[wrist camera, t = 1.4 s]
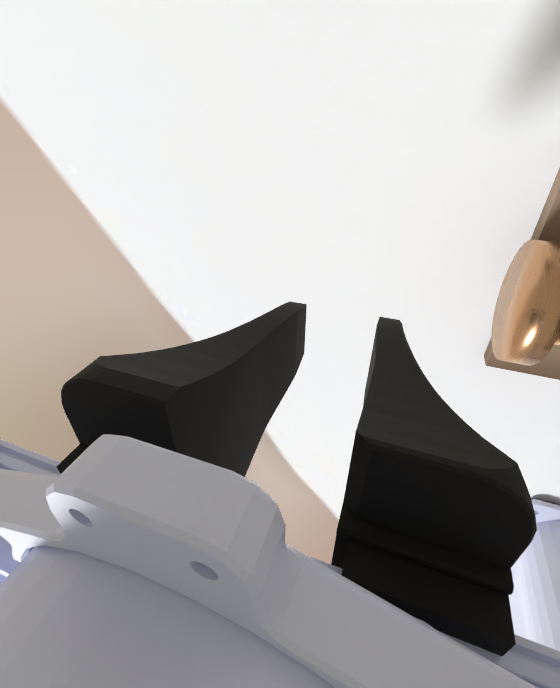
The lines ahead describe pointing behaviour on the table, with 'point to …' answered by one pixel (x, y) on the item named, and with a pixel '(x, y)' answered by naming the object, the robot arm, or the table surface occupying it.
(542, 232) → the base board
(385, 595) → the robot arm
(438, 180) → the table surface
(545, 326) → the tan flared rod
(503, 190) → the table surface
